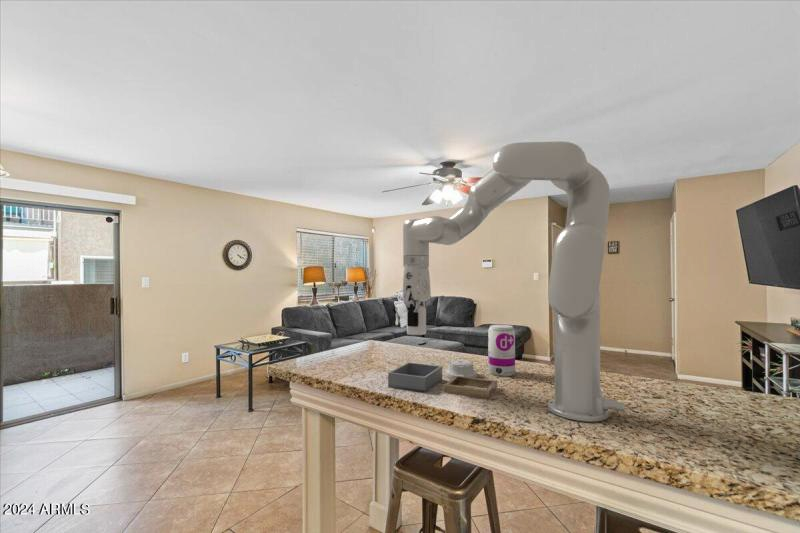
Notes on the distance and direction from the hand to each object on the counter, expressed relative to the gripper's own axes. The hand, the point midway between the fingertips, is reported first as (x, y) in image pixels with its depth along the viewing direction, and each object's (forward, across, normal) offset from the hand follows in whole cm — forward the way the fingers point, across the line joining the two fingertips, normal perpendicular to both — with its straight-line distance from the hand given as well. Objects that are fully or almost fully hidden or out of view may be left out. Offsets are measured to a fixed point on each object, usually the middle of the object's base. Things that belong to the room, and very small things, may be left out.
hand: (416, 324), depth 105 cm
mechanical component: (+18, +14, -9) cm, 24 cm away
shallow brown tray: (+17, +1, -16) cm, 23 cm away
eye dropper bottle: (+3, 0, 0) cm, 3 cm away
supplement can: (+17, +22, -20) cm, 34 cm away
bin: (+17, 0, 0) cm, 17 cm away
